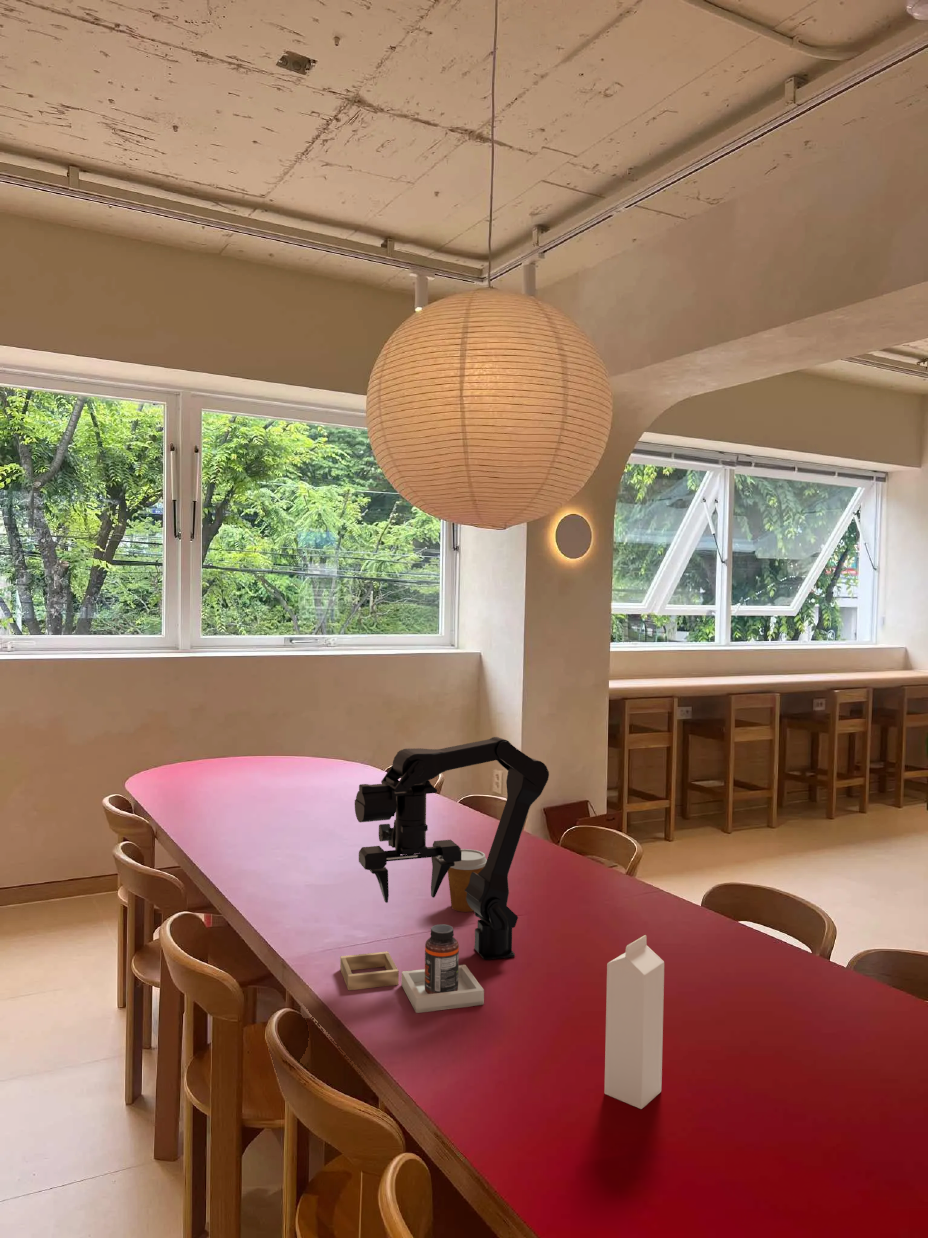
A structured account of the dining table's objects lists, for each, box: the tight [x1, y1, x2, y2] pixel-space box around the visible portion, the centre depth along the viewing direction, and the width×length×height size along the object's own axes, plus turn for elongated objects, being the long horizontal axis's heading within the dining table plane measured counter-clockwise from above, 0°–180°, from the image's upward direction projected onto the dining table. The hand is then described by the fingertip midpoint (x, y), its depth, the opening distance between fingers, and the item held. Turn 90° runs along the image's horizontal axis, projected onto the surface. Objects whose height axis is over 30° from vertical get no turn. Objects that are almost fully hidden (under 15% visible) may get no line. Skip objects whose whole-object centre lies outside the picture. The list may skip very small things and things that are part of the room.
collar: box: [339, 951, 400, 991], centre depth 164 cm, size 9×9×2 cm
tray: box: [401, 964, 485, 1014], centre depth 157 cm, size 12×11×2 cm
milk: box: [604, 934, 665, 1110], centre depth 127 cm, size 6×6×22 cm
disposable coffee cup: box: [447, 848, 487, 913], centre depth 201 cm, size 10×10×12 cm
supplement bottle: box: [424, 923, 460, 994], centre depth 157 cm, size 6×6×11 cm
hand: (409, 899), depth 168 cm, fingers open, 9 cm apart
